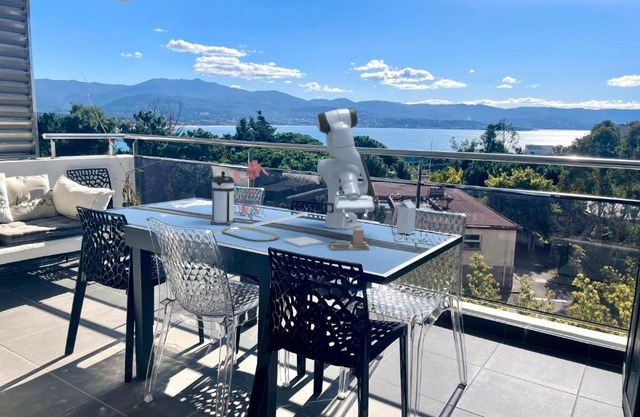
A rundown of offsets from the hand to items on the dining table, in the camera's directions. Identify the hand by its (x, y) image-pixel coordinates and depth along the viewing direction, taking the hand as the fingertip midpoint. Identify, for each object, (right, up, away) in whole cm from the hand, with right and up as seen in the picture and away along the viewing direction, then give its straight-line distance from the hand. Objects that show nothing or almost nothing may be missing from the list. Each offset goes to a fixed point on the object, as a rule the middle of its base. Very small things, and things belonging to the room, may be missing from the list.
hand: (356, 218), depth 240 cm
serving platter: (-54, -10, +15) cm, 57 cm away
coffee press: (-74, -4, +44) cm, 86 cm away
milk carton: (+30, -9, +34) cm, 46 cm away
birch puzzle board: (-4, -14, -5) cm, 15 cm away
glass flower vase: (-60, 0, +73) cm, 94 cm away
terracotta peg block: (0, -14, -4) cm, 15 cm away
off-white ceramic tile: (-26, -12, +2) cm, 29 cm away
